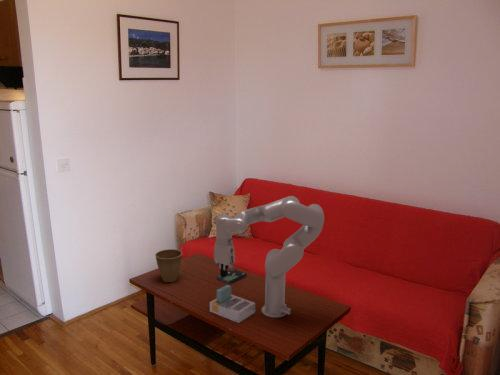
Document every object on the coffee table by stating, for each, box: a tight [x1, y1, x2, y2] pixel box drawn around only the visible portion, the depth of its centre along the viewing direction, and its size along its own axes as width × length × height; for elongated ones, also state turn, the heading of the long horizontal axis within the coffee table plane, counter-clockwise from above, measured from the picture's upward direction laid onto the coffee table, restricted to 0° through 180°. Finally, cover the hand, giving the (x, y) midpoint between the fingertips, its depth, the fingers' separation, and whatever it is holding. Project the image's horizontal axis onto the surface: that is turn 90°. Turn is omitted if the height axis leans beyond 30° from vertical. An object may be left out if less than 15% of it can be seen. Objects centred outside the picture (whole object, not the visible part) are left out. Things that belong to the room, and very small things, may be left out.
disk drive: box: [216, 268, 248, 285], centre depth 250 cm, size 10×3×15 cm
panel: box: [216, 284, 232, 304], centre depth 213 cm, size 2×8×10 cm, turn 143°
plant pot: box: [154, 248, 183, 283], centre depth 245 cm, size 15×15×16 cm
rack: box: [209, 294, 256, 324], centre depth 210 cm, size 18×13×5 cm
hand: (223, 276), depth 211 cm, fingers closed
